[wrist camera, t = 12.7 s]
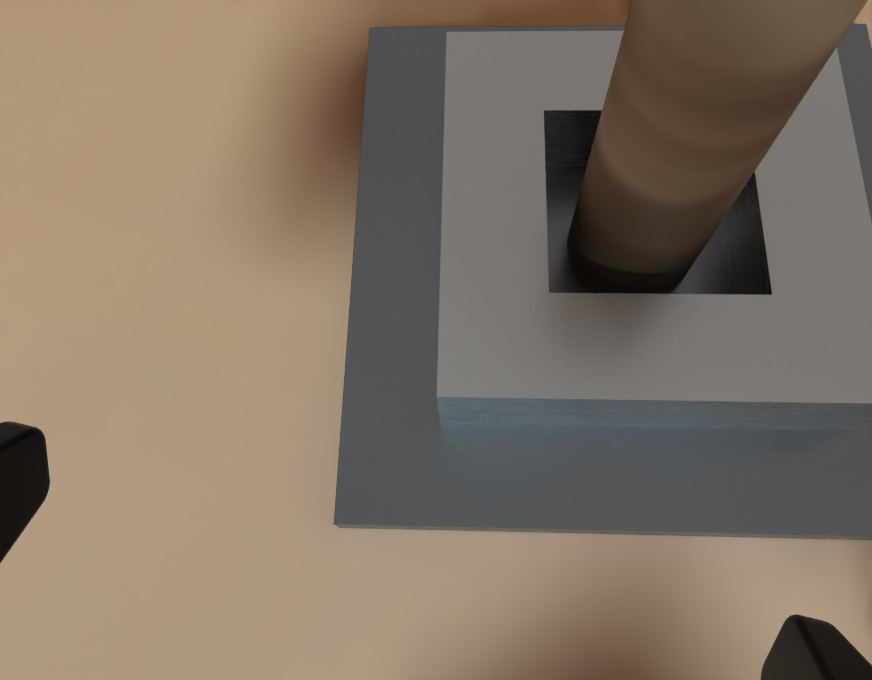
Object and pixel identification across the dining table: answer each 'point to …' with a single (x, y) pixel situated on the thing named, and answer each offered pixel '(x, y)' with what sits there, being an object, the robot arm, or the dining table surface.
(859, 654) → the robot arm
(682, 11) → the peg
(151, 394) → the dining table surface
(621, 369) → the socket
